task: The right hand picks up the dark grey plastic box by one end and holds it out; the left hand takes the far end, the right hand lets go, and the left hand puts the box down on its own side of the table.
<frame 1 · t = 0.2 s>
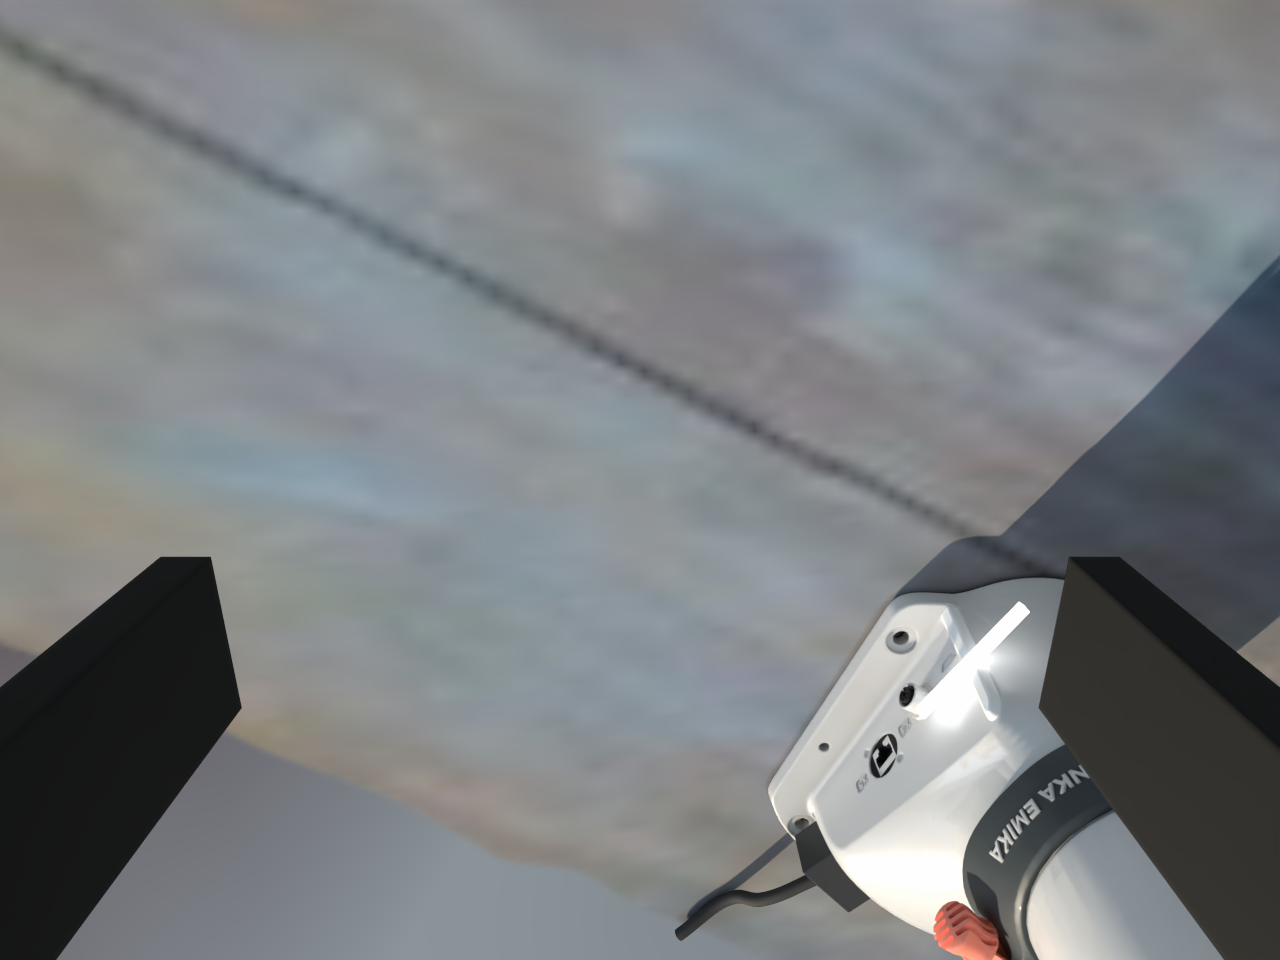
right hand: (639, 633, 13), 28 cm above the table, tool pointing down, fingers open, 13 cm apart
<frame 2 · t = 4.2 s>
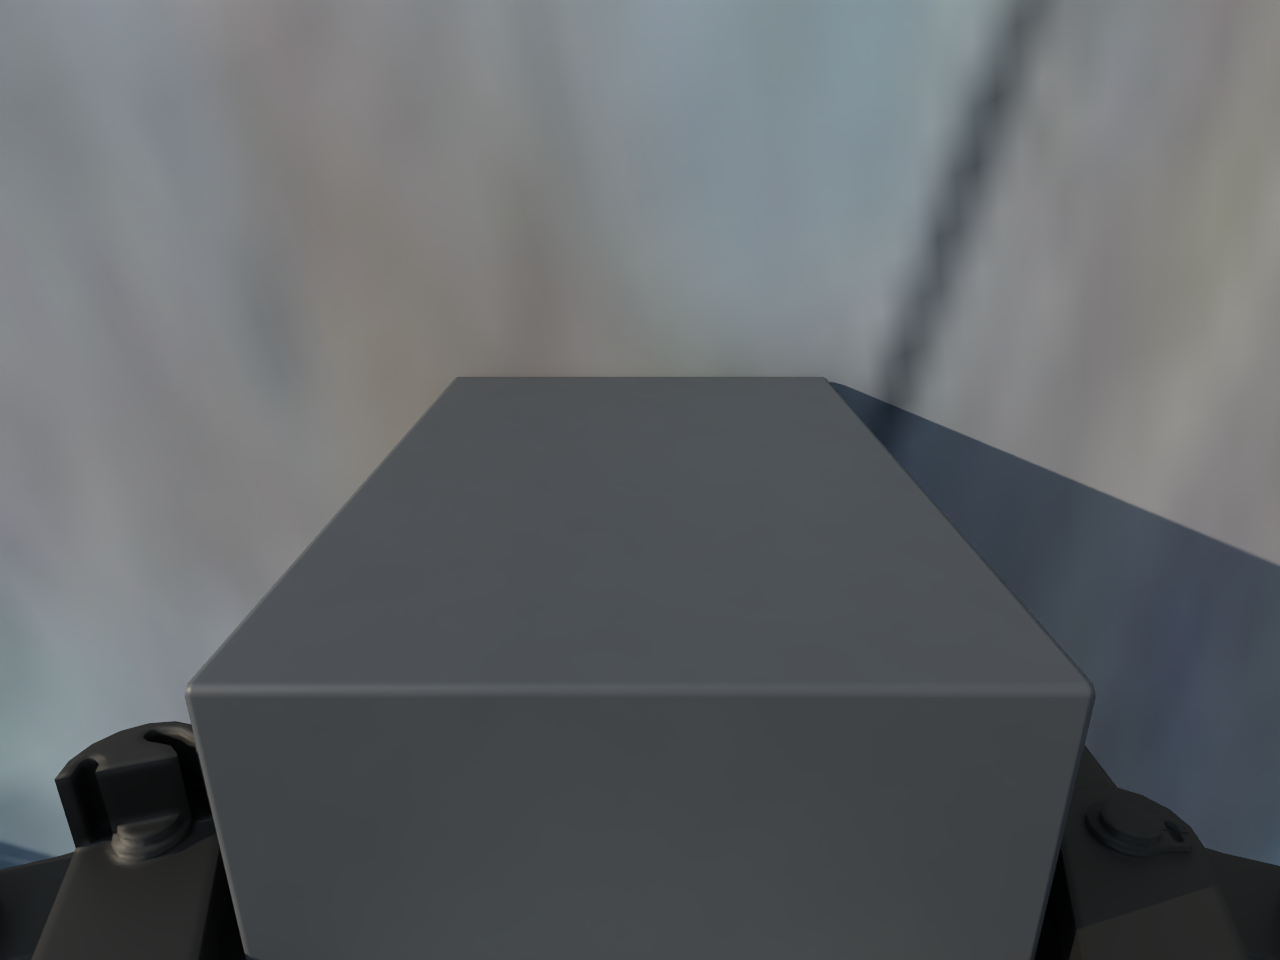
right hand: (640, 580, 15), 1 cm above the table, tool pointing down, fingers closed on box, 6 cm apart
box: (640, 959, 19), on the table, touching right hand
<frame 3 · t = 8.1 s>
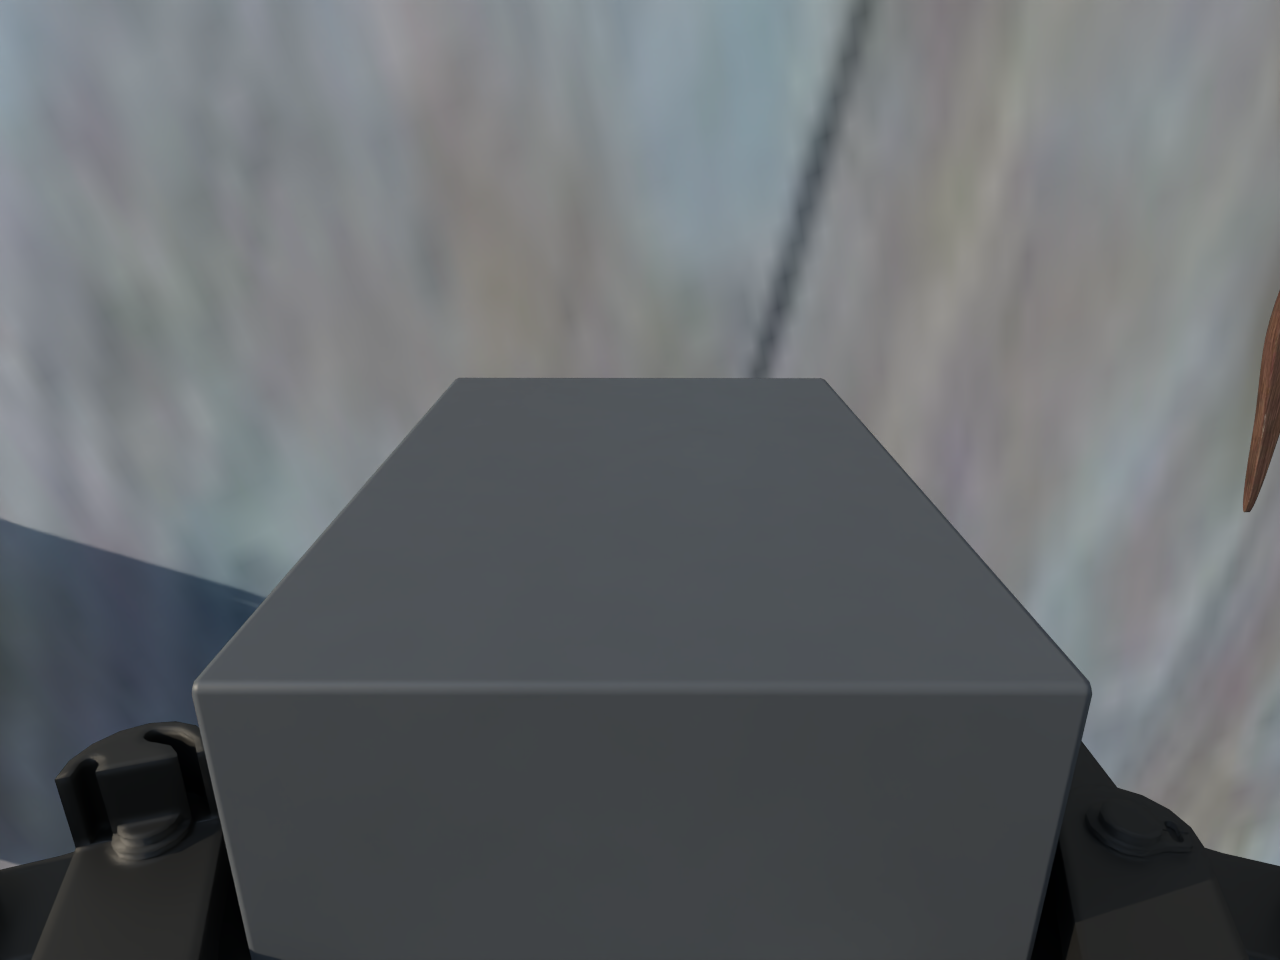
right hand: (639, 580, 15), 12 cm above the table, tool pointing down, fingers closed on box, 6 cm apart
box: (639, 958, 19), point 11 cm above the table, touching right hand, left hand
when the right hand's fingers open (12 cm above the table, at t = 9.1 s): box stays where it is, held by the left hand.
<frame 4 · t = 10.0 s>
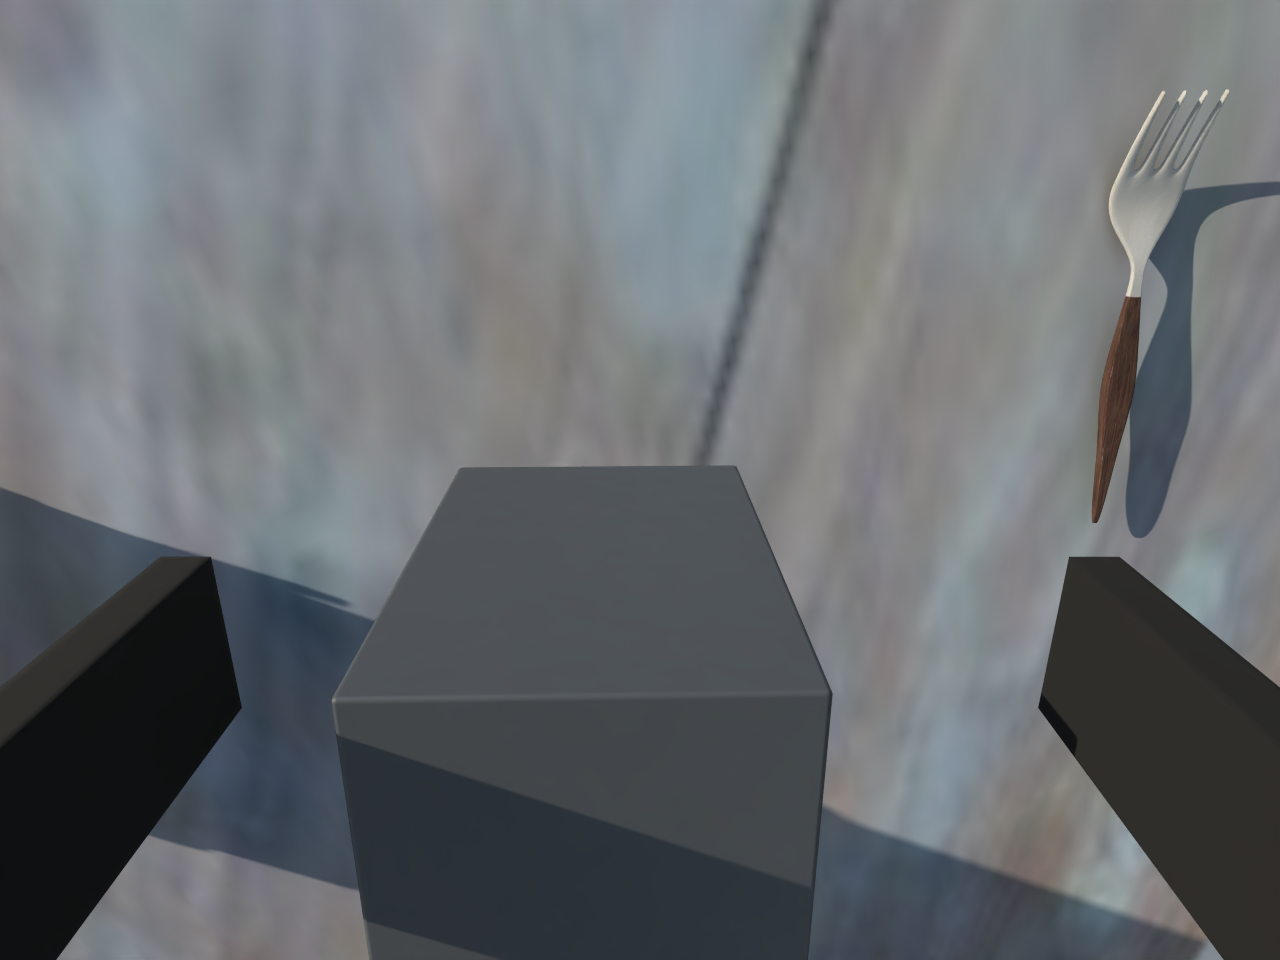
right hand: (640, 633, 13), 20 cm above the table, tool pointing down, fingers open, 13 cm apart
fork: (1117, 324, 32), on the table
box: (606, 921, 23), point 14 cm above the table, touching left hand
when the left hand's fingers open (4 cm above the table, at t = 13.9 s): box stays where it is, on the table.
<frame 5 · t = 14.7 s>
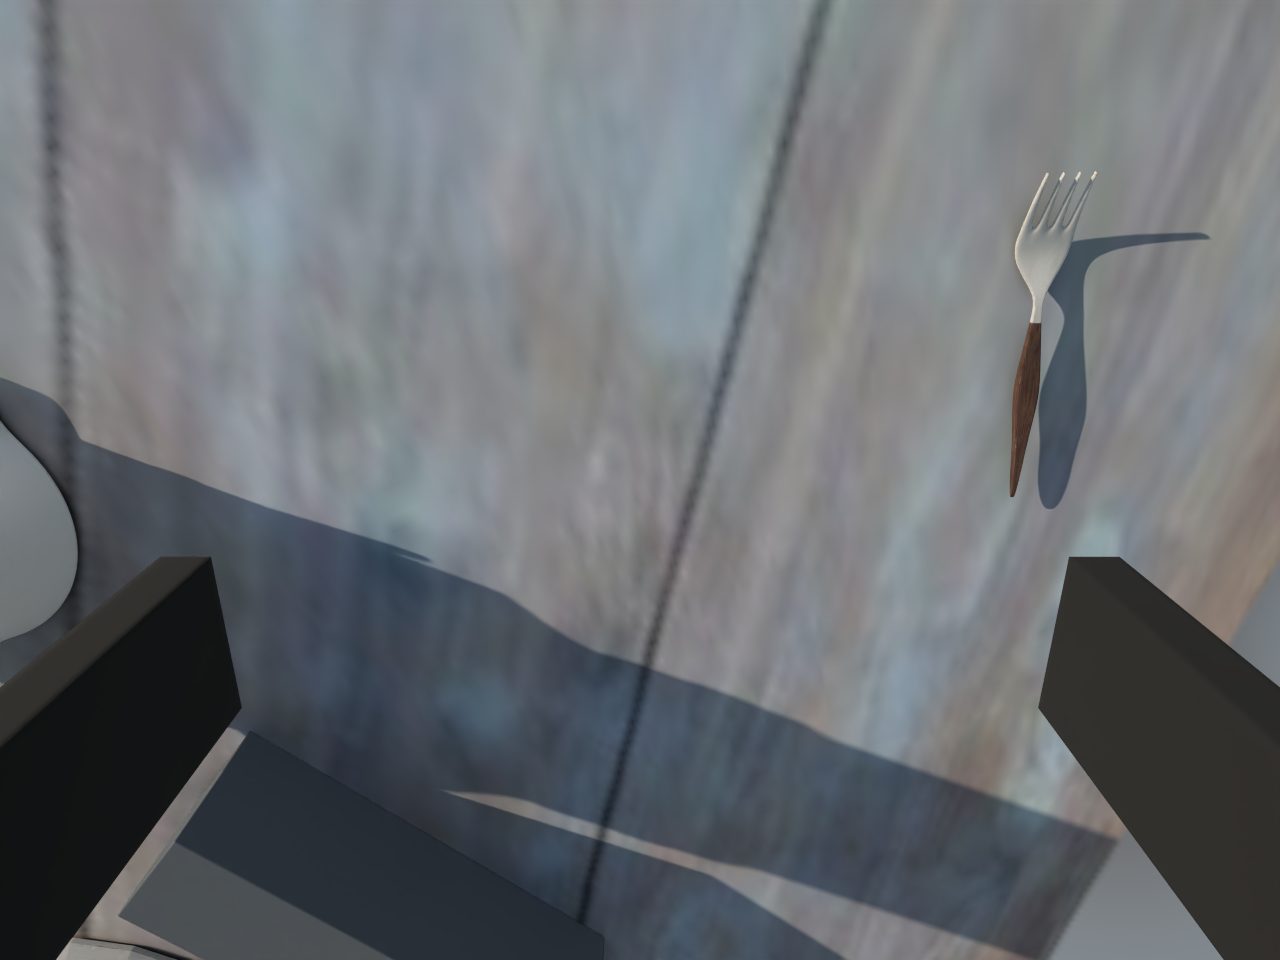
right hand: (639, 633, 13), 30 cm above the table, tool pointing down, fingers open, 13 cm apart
fork: (1026, 342, 41), on the table
box: (410, 869, 53), on the table
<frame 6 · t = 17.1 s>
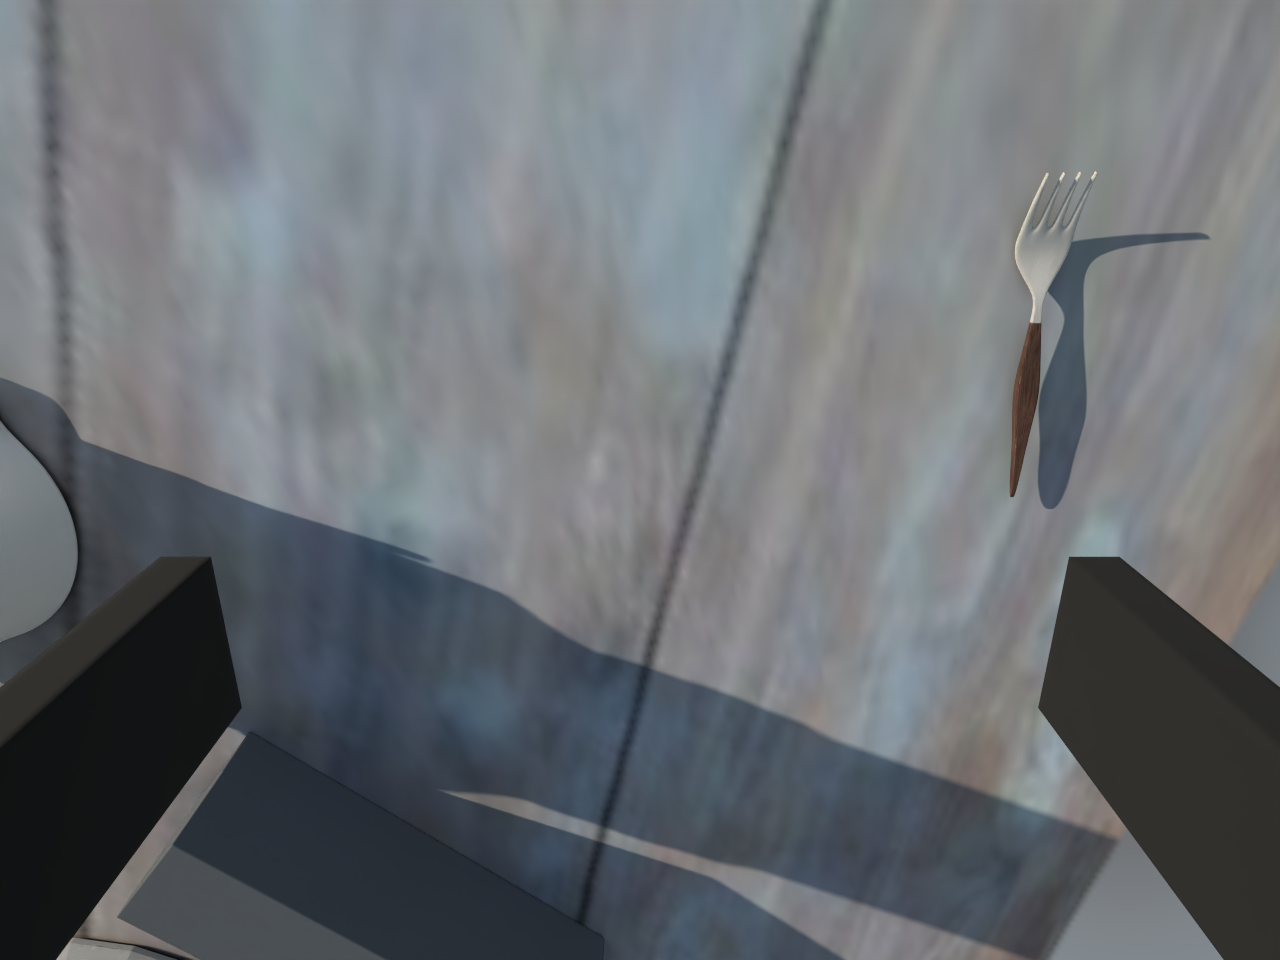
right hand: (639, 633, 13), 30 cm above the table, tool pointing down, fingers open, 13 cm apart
fork: (1026, 342, 41), on the table
box: (410, 869, 53), on the table
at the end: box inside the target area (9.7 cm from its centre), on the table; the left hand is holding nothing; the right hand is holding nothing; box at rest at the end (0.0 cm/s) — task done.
